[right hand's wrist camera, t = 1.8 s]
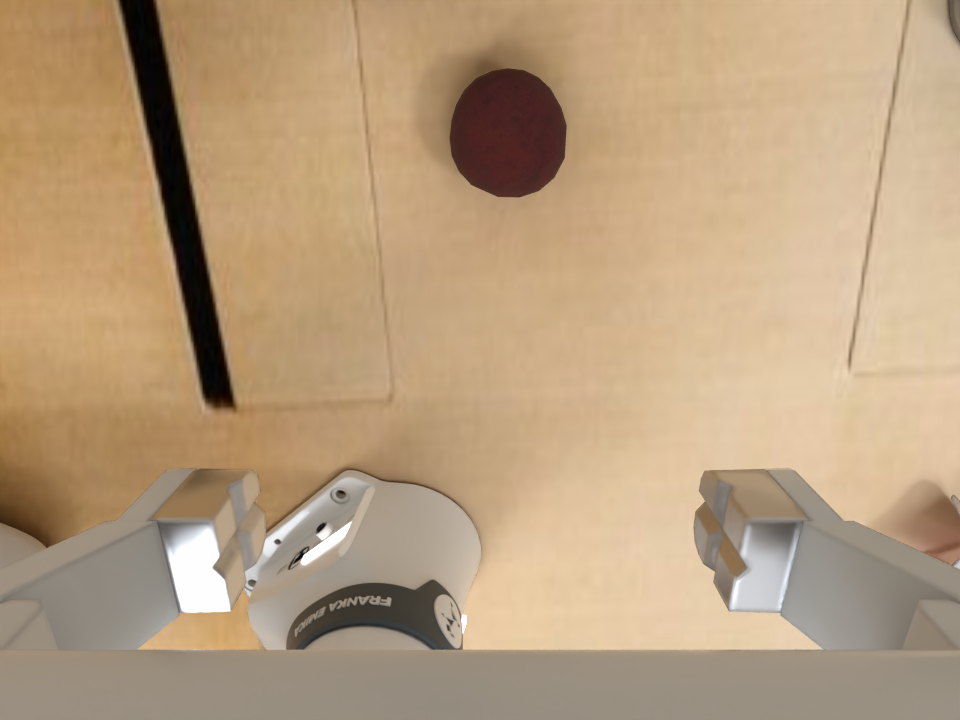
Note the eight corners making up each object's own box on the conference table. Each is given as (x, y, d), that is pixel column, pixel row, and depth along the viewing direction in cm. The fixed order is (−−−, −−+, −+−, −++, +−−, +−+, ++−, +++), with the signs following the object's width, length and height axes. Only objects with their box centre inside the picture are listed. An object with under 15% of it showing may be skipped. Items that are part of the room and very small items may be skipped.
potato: (525, 53, 37) (532, 33, 31) (579, 160, 40) (597, 163, 33) (431, 115, 39) (418, 109, 32) (488, 215, 41) (488, 229, 34)
